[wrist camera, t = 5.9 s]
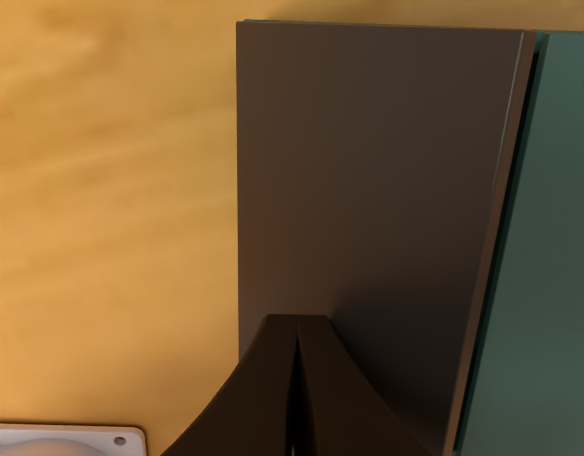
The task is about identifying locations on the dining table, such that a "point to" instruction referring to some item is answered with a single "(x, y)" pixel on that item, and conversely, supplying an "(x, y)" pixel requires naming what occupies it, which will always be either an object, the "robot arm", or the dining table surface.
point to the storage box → (534, 275)
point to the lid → (378, 194)
